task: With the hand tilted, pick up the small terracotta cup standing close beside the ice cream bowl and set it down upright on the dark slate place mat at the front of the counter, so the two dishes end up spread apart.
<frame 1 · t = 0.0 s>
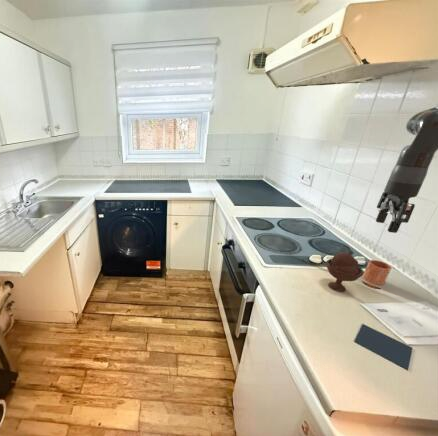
hand: (385, 226, 80), 26 cm above the worktop, tool pointing down, fingers open, 8 cm apart
place mat: (382, 344, 68), on the worktop
terracotta cup: (371, 283, 93), on the worktop
ice cream bowl: (336, 287, 91), on the worktop
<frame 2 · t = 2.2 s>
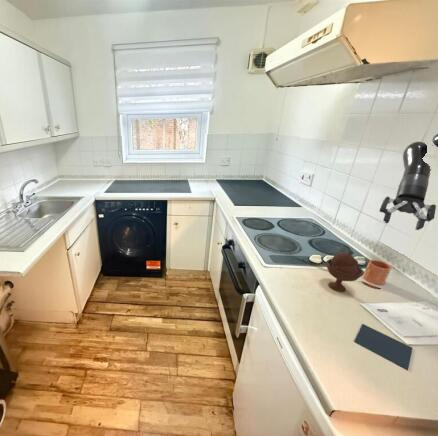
hand: (402, 225, 89), 22 cm above the worktop, tool tilted 40°, fingers open, 8 cm apart
nothing on the worktop moved.
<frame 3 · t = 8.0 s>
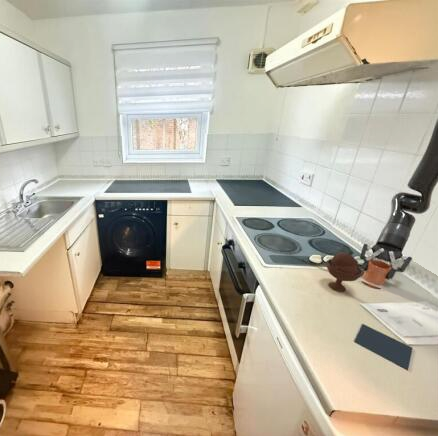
hand: (375, 274, 90), 5 cm above the worktop, tool tilted 45°, fingers closed on terracotta cup, 6 cm apart
terracotta cup: (371, 283, 93), on the worktop, touching gripper
everything else where it was.
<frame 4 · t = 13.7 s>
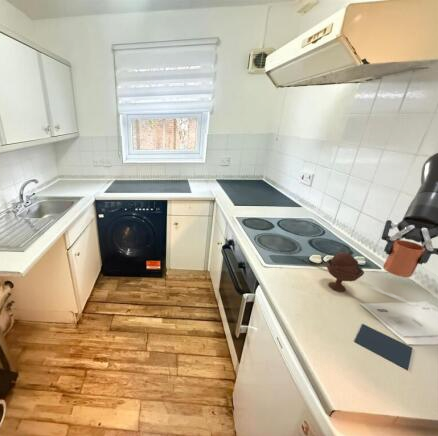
hand: (403, 258, 69), 22 cm above the worktop, tool tilted 45°, fingers closed on terracotta cup, 6 cm apart
terracotta cup: (396, 271, 72), point 17 cm above the worktop, touching gripper
everything else where it was.
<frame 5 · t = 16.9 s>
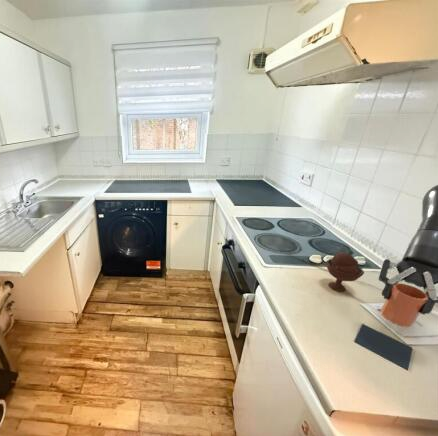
hand: (403, 305, 61), 15 cm above the worktop, tool tilted 45°, fingers closed on terracotta cup, 6 cm apart
terracotta cup: (395, 317, 64), point 10 cm above the worktop, touching gripper
everything else where it was.
when the fingers open (6 cm above the worktop, at t = 19.6 s): terracotta cup stays where it is, resting on place mat.
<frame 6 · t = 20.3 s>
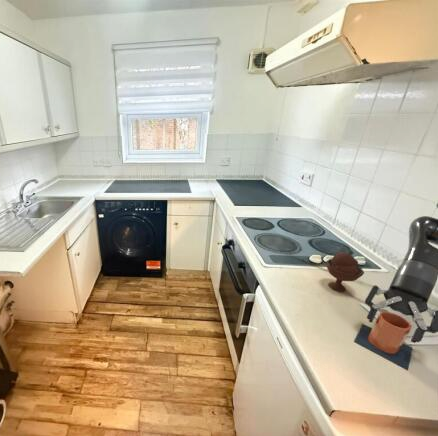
hand: (390, 331, 64), 6 cm above the worktop, tool tilted 45°, fingers open, 8 cm apart
terracotta cup: (382, 343, 68), resting on place mat
everything else where it was.
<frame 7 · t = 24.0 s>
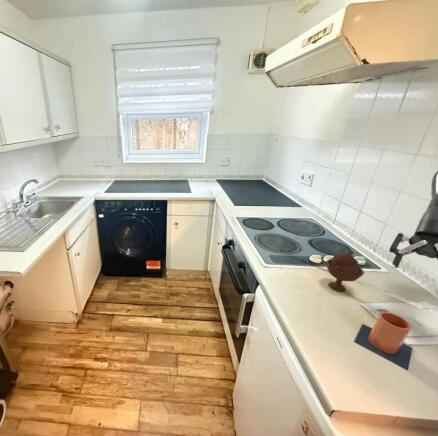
hand: (417, 273, 66), 20 cm above the worktop, tool tilted 45°, fingers open, 8 cm apart
nothing on the worktop moved.
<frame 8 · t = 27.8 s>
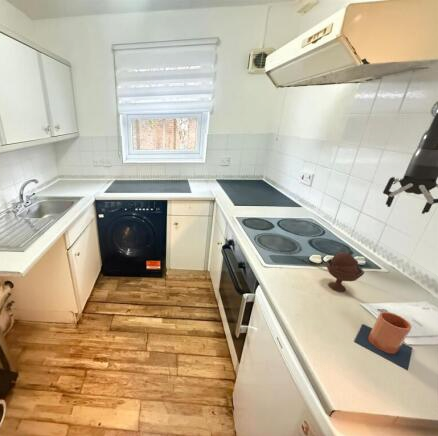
hand: (405, 209, 83), 30 cm above the worktop, tool pointing down, fingers open, 8 cm apart
nothing on the worktop moved.
at the end: terracotta cup inside the target area on the place mat (0.2 cm from its centre), point 0.2 cm above the place mat's base; terracotta cup tilted 0°; ice cream bowl moved 0.2 cm from its start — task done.
